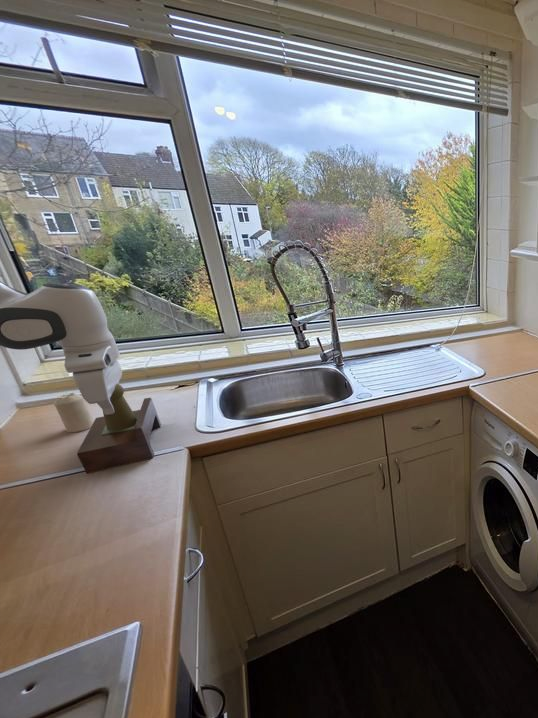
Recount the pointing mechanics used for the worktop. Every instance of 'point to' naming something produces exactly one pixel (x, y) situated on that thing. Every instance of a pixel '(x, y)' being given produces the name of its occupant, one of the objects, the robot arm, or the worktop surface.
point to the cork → (119, 412)
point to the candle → (73, 412)
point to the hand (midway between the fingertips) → (114, 405)
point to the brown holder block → (119, 441)
